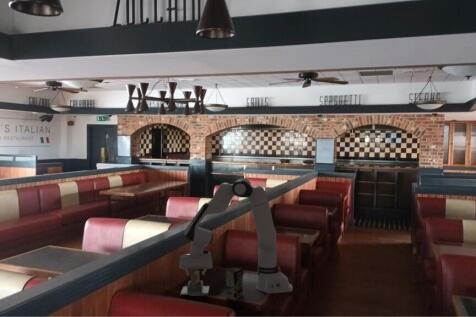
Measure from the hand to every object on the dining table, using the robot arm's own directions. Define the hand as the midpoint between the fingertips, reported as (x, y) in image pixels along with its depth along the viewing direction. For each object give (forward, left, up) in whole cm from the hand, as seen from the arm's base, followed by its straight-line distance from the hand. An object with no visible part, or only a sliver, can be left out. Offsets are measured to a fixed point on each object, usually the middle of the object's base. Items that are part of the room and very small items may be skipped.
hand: (195, 274), depth 237 cm
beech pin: (0, 0, -9) cm, 9 cm away
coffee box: (-24, +8, -11) cm, 27 cm away
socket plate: (0, 0, -11) cm, 11 cm away
